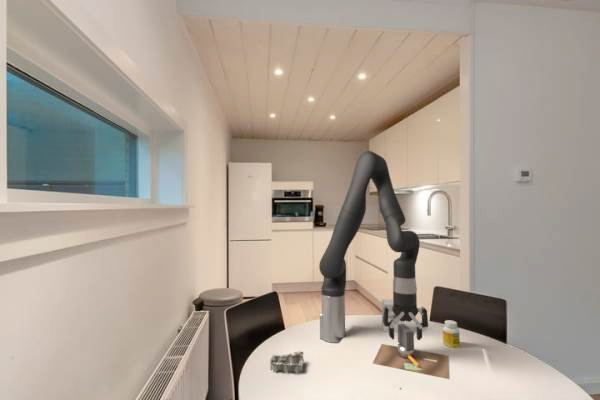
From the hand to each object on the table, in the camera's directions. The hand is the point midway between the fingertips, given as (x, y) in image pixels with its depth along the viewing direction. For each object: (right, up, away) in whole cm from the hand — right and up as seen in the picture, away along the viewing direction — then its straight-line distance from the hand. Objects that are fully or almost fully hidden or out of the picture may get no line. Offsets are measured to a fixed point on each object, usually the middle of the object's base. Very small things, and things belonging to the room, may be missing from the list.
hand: (405, 338), depth 103 cm
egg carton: (-40, -8, -5) cm, 41 cm away
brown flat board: (+1, -7, -3) cm, 8 cm away
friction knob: (0, -5, -3) cm, 6 cm away
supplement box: (+3, -8, +24) cm, 25 cm away
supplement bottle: (+20, -8, +8) cm, 23 cm away
